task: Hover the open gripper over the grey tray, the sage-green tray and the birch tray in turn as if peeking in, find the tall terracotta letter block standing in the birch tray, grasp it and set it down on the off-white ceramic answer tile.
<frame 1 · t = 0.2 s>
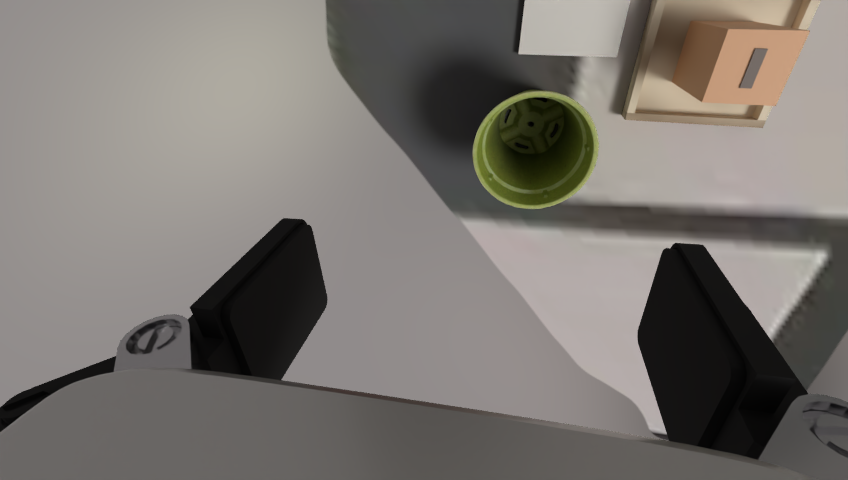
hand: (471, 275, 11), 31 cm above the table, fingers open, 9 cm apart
plant pot: (531, 122, 38), on the table
tray birch: (709, 52, 32), on the table
answer tile: (575, 0, 32), on the table
letter block: (711, 53, 32), resting on tray birch
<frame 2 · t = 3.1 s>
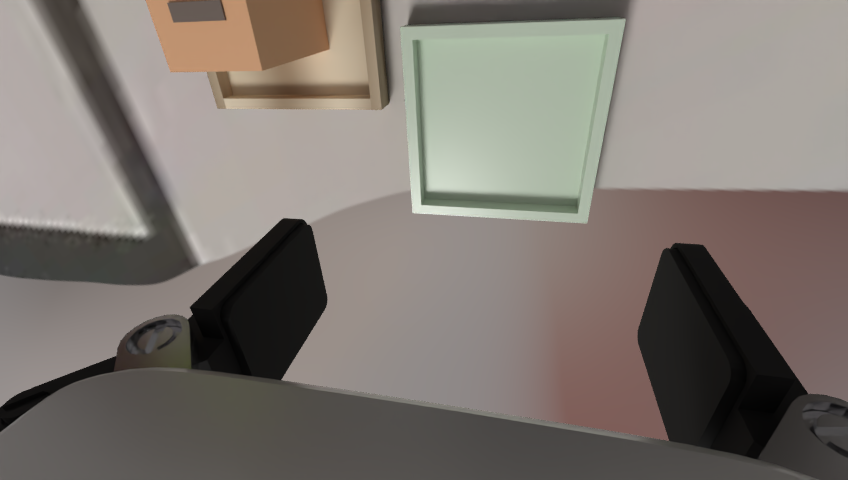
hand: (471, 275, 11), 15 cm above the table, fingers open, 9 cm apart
tray green: (502, 125, 23), on the table
tray birch: (288, 4, 22), on the table
letter block: (284, 5, 22), resting on tray birch
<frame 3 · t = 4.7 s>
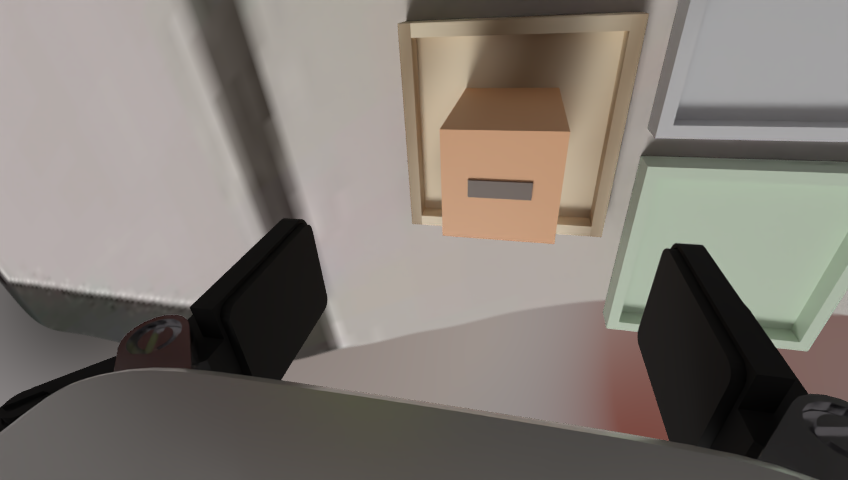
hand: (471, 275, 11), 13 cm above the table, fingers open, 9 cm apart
tray green: (722, 250, 22), on the table
tray birch: (509, 130, 21), on the table
letter block: (508, 133, 21), resting on tray birch
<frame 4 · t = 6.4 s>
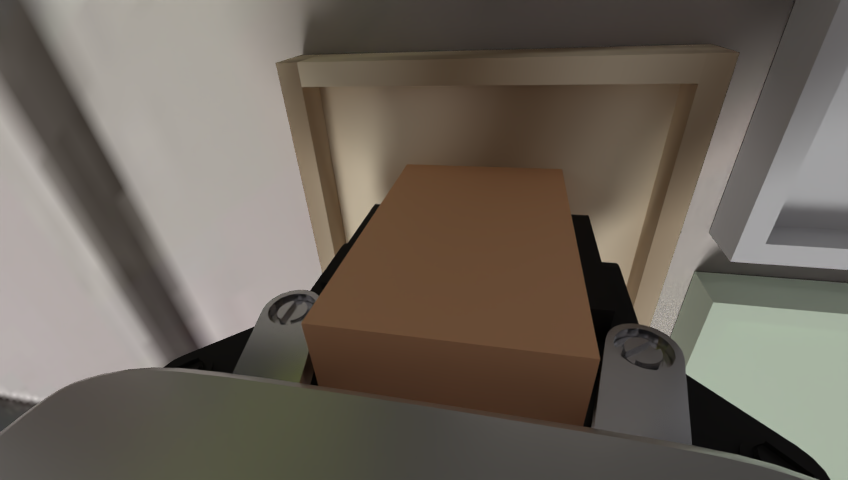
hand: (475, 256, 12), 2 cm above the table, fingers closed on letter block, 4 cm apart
tray green: (815, 404, 14), on the table
tray birch: (481, 225, 13), on the table
letter block: (479, 232, 13), point 1 cm above the table, touching gripper, tray birch
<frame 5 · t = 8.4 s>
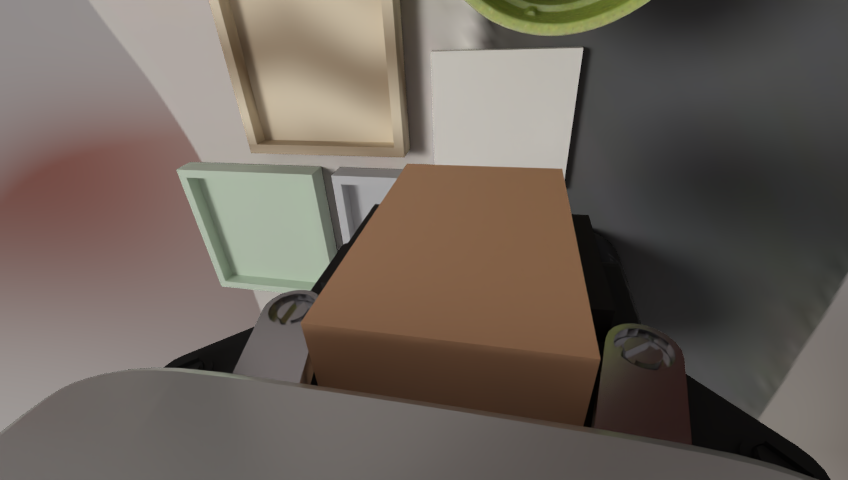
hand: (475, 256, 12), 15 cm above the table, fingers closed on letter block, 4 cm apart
tray grey: (418, 238, 30), on the table
tray green: (271, 227, 32), on the table
tray birch: (319, 62, 24), on the table
answer tile: (500, 122, 24), on the table
supplement bottle: (565, 264, 28), on the table
letter block: (479, 232, 13), point 13 cm above the table, touching gripper
when the fingers open (3 cm above the table, at t = 10.7 s): letter block drops 1 cm, resting on answer tile.
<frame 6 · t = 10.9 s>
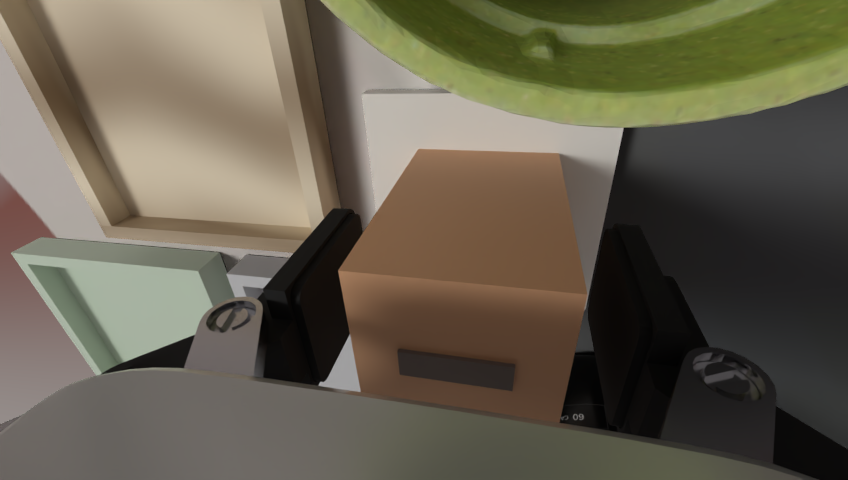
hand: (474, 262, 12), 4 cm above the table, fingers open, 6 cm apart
tray grey: (369, 350, 20), on the table
tray green: (166, 324, 23), on the table
tray birch: (191, 105, 15), on the table
answer tile: (484, 203, 15), on the table
supplement bottle: (585, 396, 19), on the table
letter block: (483, 212, 14), point 1 cm above the table, touching answer tile
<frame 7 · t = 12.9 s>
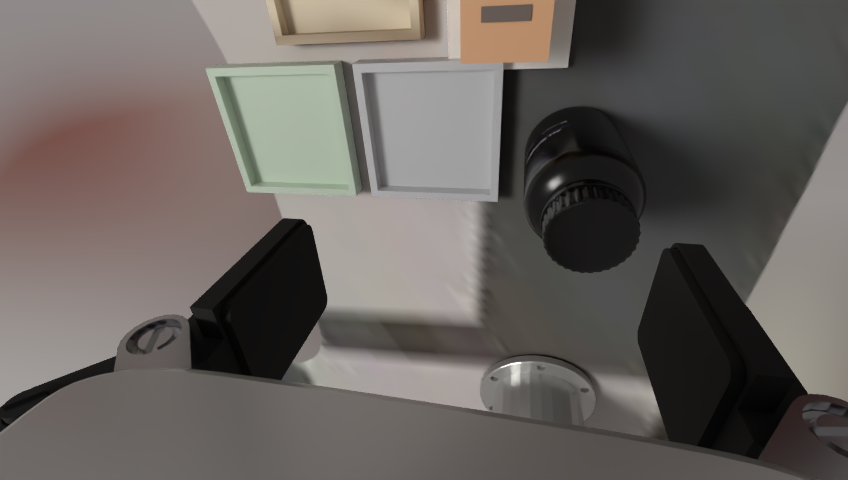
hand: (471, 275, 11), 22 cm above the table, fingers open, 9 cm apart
tray grey: (432, 130, 32), on the table
tray green: (293, 129, 34), on the table
answer tile: (509, 1, 26), on the table
supplement bottle: (570, 149, 31), on the table
letter block: (509, 2, 26), point 1 cm above the table, touching answer tile
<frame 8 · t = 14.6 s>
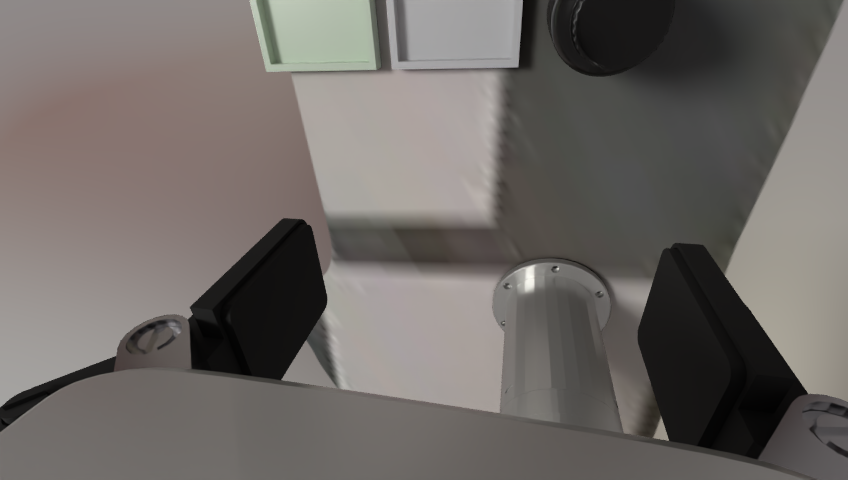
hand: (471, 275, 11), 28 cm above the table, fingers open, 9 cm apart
tray green: (315, 1, 34), on the table
supplement bottle: (591, 9, 31), on the table
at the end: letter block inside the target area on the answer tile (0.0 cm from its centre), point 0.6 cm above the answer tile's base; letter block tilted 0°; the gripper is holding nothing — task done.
